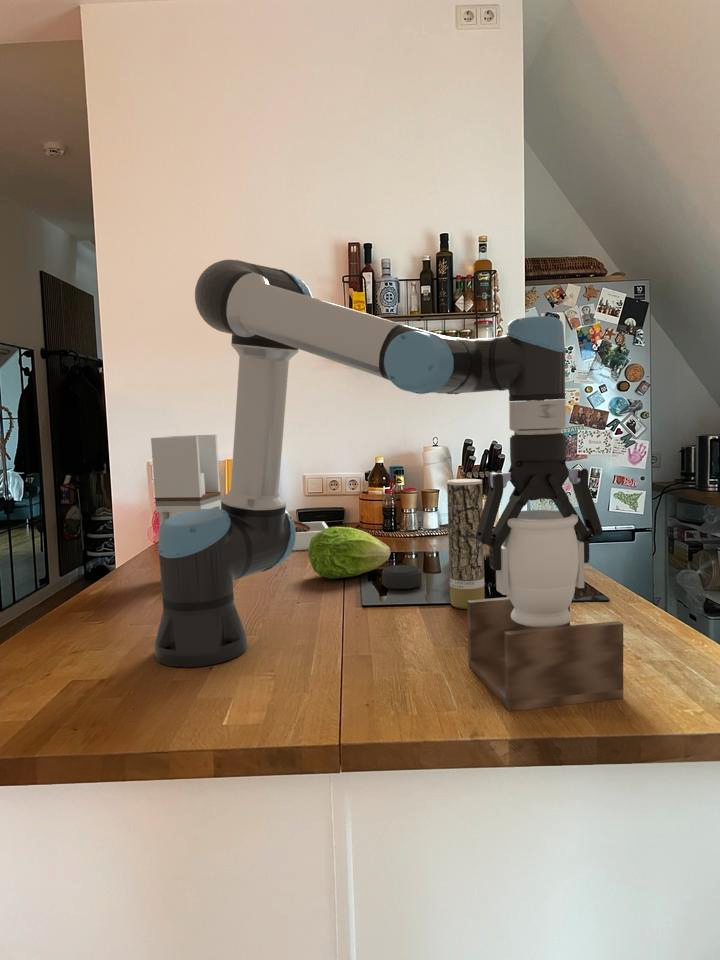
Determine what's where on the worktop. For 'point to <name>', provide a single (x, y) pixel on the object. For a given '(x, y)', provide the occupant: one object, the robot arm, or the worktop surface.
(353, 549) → the lettuce
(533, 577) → the jar
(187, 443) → the display case
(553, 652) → the holder
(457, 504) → the paper tube
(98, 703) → the worktop surface
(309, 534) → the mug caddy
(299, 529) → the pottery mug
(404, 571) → the smart speaker
